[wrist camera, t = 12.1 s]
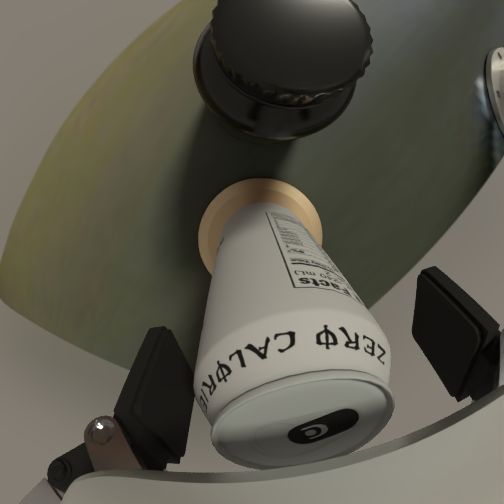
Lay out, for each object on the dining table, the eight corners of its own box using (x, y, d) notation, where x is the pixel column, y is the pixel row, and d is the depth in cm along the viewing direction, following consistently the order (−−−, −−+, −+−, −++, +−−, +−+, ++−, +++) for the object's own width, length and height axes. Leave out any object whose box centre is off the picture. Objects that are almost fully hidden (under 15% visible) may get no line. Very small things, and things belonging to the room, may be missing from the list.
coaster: (309, 166, 18) (311, 166, 18) (326, 278, 22) (328, 281, 21) (184, 195, 19) (182, 197, 18) (218, 302, 22) (217, 307, 22)
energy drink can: (204, 225, 19) (134, 408, 5) (282, 184, 18) (402, 302, 4) (245, 292, 21) (255, 487, 7) (316, 257, 20) (417, 428, 6)
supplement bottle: (284, 161, 18) (349, 184, 7) (194, 120, 17) (125, 84, 6) (325, 81, 16) (423, 21, 5) (238, 40, 15) (238, -69, 4)
